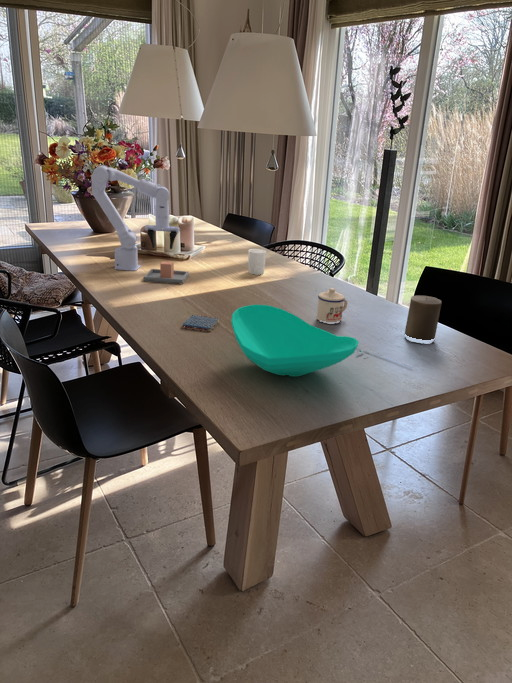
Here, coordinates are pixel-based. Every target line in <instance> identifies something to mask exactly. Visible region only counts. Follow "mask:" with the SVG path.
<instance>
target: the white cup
mask: <svg viewBox="0 0 512 683" xmlns="http://www.w3.org/2000/svg"><path fill="white" fill-rule="evenodd" d="M247 252H248V256H247V261H248V263H247V264H248V266H247V267H248V273H249V275H253V274H255V276H260V274H261V275H263V274H264V272H265V267H266V257H267V250H265V249H261V248H250V249H248V251H247Z"/></svg>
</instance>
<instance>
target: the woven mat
mask: <svg viewBox="0 0 512 683" xmlns="http://www.w3.org/2000/svg"><path fill="white" fill-rule="evenodd" d="M219 321H220V319H219V318H216V317H214V318H213V317H208V316H202V315H201V316H199V314H198V315H194V314H192V315H190V316H189V317H187V319H186V320H185V321H184V322H183V324H182V326H181V328H182V329H185V328H187V329H186V330H192V329H194V330H195V331H200V330H202V331H201V332H207V331H208V332H209V333H211V332H212V331H213V330H214V329H215V328H216V327H217V326H218V324H219V323H220V322H219ZM184 326H185V327H184ZM203 329H204V330H203ZM208 332H207V333H208Z"/></svg>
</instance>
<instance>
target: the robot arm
mask: <svg viewBox="0 0 512 683" xmlns="http://www.w3.org/2000/svg"><path fill="white" fill-rule="evenodd" d="M90 178H91V179H90V180H91V194H92V195H93V197H94V198H95V200H96V202H97V204H99V206H100V208H101V209H102V211H103V212H104V214H105V215H106V218H107V219H108V221H109V222H110V223H111V226H112V227H113V228H114V230H115V231H116V234H117V237H118V238H119V243H120V246H117V247H115V249H114V270H120V271H130V272H131V271H132V272H134V271H135V272H136V271H138V269H140V268H141V266H142V265H140V264H138V263H139V262H138V261H139V259H138V257H139V256H138V246H137V245H136V242H137V240H138V239H137V238H138V237H137V234H136V233H135V232H134V231H133V230H131V228H130V226H129V225H127V224H126V222H125V221H124V218H122V216H121V214H120V213H119V211H118V210H117V208H116V207H115V205H114V203H113V202H112V201H111V199H110V197H109V196H108V194H107V192H106V188H107V183H108V182H109V181H110V182H114V181H119V182H122V183H124V184H127V185H130V186H131V187H134V188H135V189H137V192H139V193H140V194H143V195H145V196H148V197H149V198H152V199H153V198H154V199H155V205H154V206H155V210H154V211H155V215H154V216H155V224H146V225H145V226H144V230H145V231H147V232H146V233H147V235H148V237H149V240H150V242H151V247H152V248H153V249H154V248H156V232H166V233H167V232H168V233H169V241H170V242H169V249H170V250H172V249H173V247H174V243H175V240H176V237H177V235H178V234H179V233H180V227H178V226H170V205H169V203H170V202H169V201H170V200H169V199H170V191H169V189H168V188H167V187H165V186H163V185H161V184H160V183H158V184H157V183H154V182H152V181H150V179H149V178H142V179H138V178H136V177H133V176H131V175H129V174H127V173H125V172H123V171H120V170H119V169H116V168H114V167H111V166H110V167H109V166H108V165H105V164H100V165H99V166H96V167H95V169H94V170H93V171H92V174H91V177H90Z"/></svg>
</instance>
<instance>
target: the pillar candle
mask: <svg viewBox="0 0 512 683" xmlns="http://www.w3.org/2000/svg"><path fill="white" fill-rule="evenodd" d="M409 302H410V303H409V306H408V311H407V312H408V314H407V319H406V323H405V324H406V325H405V328H404V335H405V334H406V335H407V336H409V337H412V338H416V339H422V340H431V339H434V338H435V339H436V335H437V328H438V325H439V324H438V323H439V318H440V312H441V308H442V300H441V299H438V298H437V297H433V296H428V295H412V296H411V297H410V301H409Z"/></svg>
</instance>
